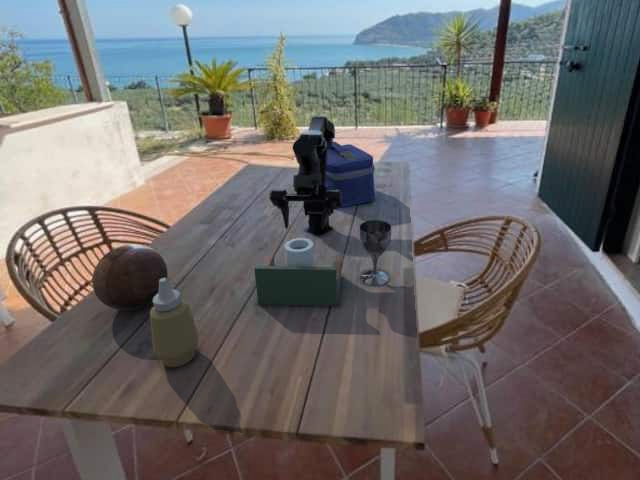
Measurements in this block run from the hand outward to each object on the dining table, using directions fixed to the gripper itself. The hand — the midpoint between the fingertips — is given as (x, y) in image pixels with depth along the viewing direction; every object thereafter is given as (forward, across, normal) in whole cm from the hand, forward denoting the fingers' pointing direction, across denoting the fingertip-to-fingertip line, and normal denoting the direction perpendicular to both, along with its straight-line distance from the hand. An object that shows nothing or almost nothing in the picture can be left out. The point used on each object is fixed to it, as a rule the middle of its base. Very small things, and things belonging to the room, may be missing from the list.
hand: (304, 228), depth 100 cm
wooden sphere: (+20, -38, -1) cm, 43 cm away
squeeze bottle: (+31, -20, -12) cm, 39 cm away
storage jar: (+15, 0, +4) cm, 16 cm away
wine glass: (+11, +18, +8) cm, 23 cm away
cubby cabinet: (+15, 0, +4) cm, 16 cm away
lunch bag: (-32, +5, +51) cm, 61 cm away
